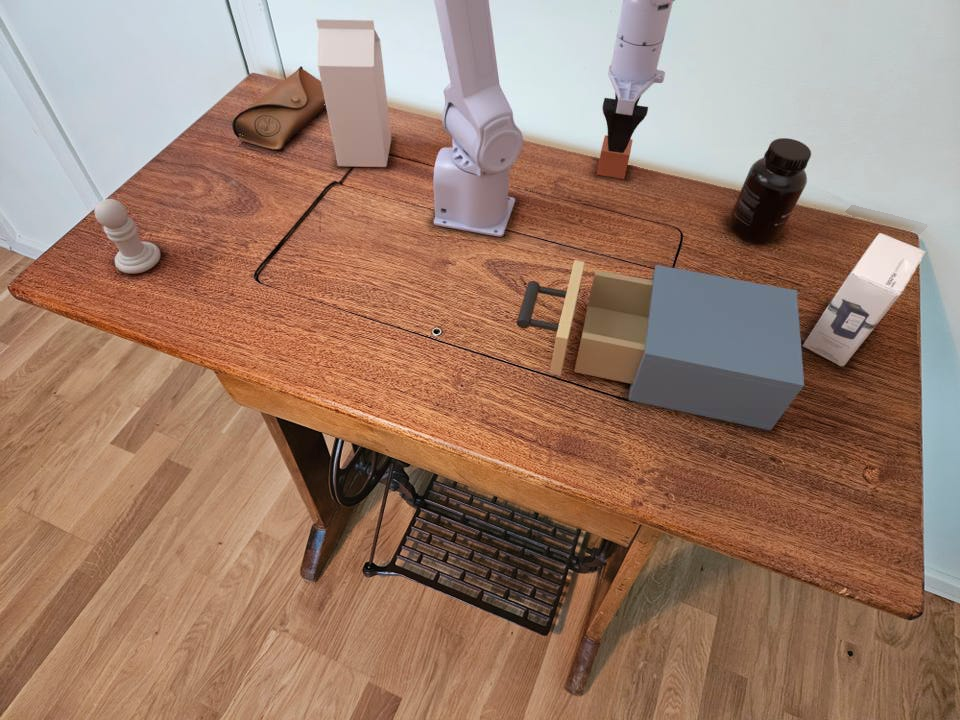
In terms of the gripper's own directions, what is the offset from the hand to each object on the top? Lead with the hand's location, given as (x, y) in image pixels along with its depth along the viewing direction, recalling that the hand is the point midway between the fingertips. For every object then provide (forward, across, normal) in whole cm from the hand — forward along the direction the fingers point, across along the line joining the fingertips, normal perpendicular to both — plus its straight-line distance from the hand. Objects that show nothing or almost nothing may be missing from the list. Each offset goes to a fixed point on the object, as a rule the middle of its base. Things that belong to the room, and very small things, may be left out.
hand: (619, 135), depth 86 cm
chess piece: (+6, -35, +55) cm, 65 cm away
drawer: (+4, -34, -2) cm, 34 cm away
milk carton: (+6, -6, +36) cm, 37 cm away
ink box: (+6, -25, -29) cm, 39 cm away
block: (+6, 0, 0) cm, 6 cm away
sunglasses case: (+6, 0, +51) cm, 51 cm away
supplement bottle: (+6, -8, -20) cm, 22 cm away
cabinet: (+6, -34, -14) cm, 37 cm away
